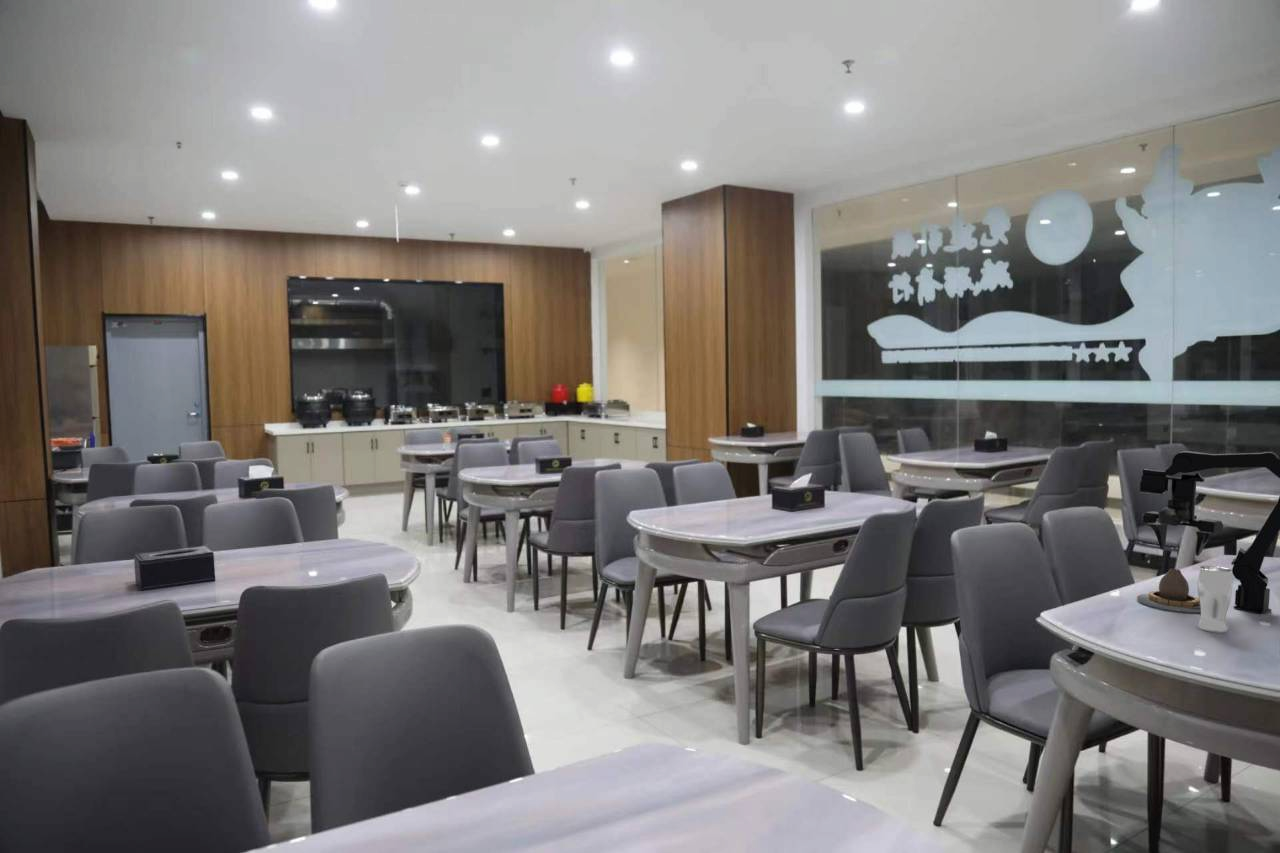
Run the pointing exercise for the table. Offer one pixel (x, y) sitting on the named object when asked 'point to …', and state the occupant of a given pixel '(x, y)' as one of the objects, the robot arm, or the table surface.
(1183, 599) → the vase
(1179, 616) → the table surface
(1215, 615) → the beer glass
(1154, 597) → the wooden ring on tray
